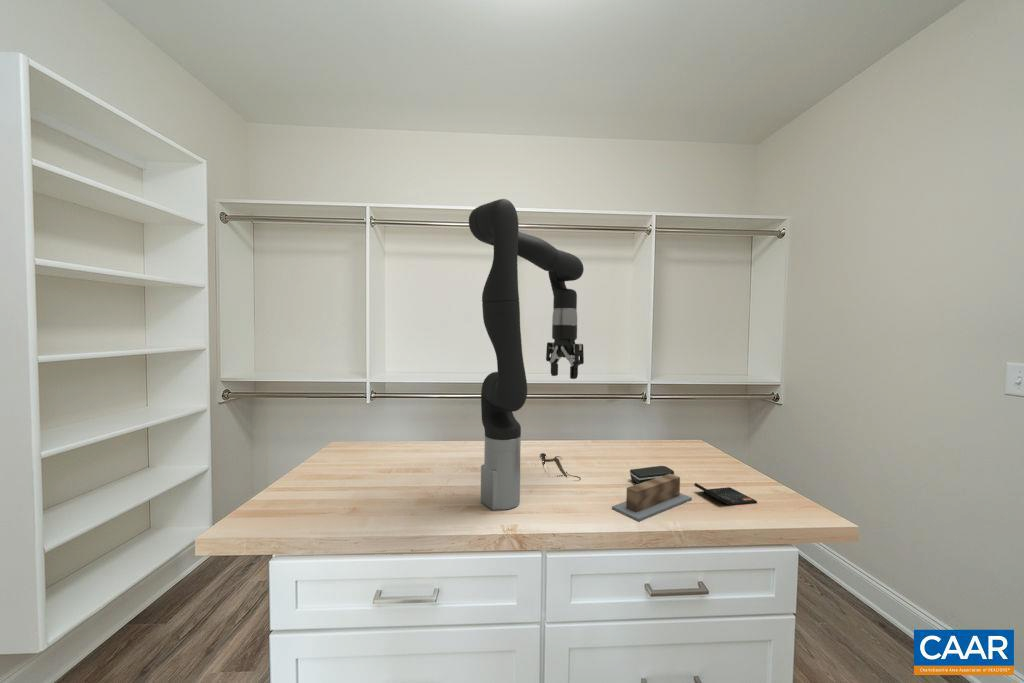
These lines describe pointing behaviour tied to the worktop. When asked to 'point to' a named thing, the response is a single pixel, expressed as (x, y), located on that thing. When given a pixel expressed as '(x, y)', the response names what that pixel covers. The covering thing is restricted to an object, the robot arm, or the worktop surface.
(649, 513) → the mat
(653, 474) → the black striped rounded block
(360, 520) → the worktop surface
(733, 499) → the calculator
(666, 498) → the wooden block
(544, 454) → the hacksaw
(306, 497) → the worktop surface
